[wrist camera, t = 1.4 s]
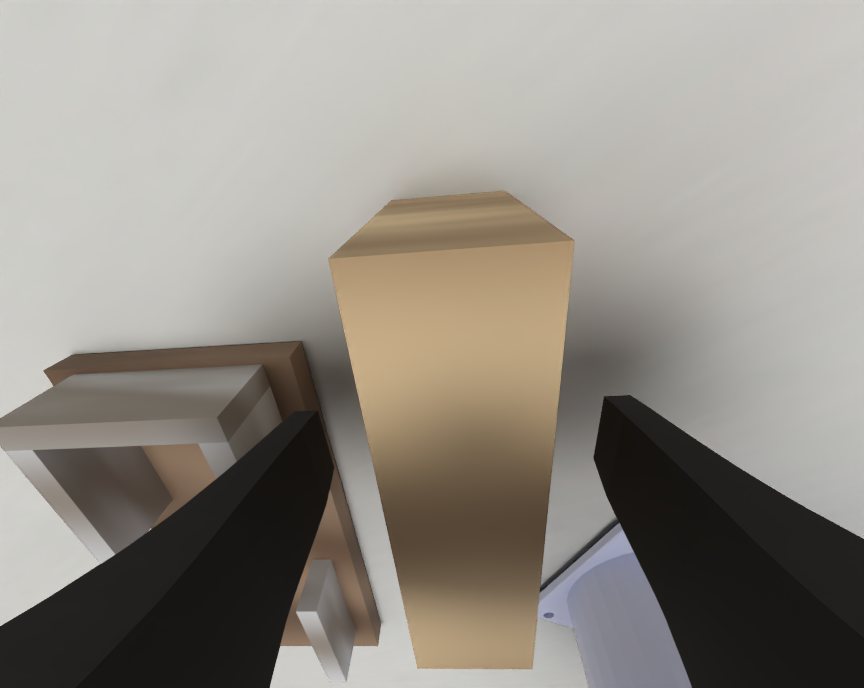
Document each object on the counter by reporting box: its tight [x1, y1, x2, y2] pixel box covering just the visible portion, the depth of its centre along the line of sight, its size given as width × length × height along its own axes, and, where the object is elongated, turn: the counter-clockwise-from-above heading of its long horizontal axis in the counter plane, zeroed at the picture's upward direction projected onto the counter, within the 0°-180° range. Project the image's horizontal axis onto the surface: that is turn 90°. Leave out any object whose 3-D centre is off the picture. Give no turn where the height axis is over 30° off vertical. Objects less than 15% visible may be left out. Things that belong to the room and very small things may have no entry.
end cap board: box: [0, 341, 381, 682], centre depth 15 cm, size 18×8×4 cm, turn 5°
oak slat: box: [329, 191, 574, 669], centre depth 10 cm, size 11×3×6 cm, turn 5°
